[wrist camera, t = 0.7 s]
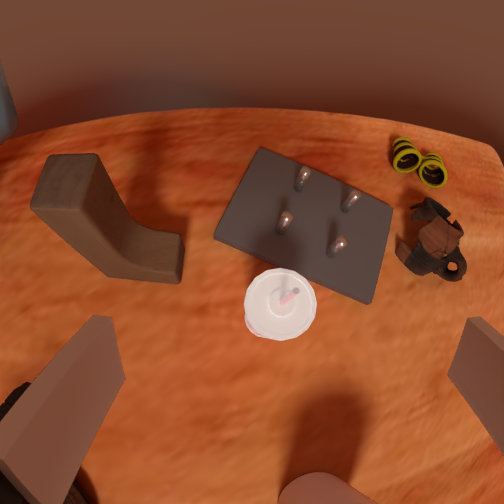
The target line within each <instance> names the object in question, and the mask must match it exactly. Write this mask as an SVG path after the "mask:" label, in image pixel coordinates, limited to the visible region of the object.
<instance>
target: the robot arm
mask: <svg viewBox="0 0 504 504" xmlns="http://www.w3.org/2000/svg"><path fill="white" fill-rule="evenodd" d="M17 125H18V118H17V113H16V109H15V106H14V103H13V100H12V96H11V93H10V90H9V86H8V83H7V80H6V77H5V74H4V70H3V68H2V65H1V61H0V145H2V144H3V143H4V142H5V141H6V140H7V139H8V138H10V137H11V136H12V135H13V133H14V132H15V130H16V128H17ZM447 375H448V377H449V378H450V379H451V381H452V382H453V383H454V385H455V386H456V387H457V389H458V390H459V391H460V393H461V394H462V395H463V397H464V398H465V400H466V401H467V402H468V404H469V405H470V407H471V408H472V409H473V411H474V412H475V414H476V415H477V417H478V418H479V419H480V421H481V422H482V424H483V425H484V427H485V428H486V430H487V431H488V433H489V434H490V436H491V437H492V439H493V440H494V442H495V443H496V445H497V446H498V448H499V449H500V451H501V452H502V454H503V456H504V337H503V336H502V335H501V334H500V333H499V332H498V331H496V330H495V329H494V328H493V327H492V326H491V325H489V324H488V323H487V322H486V321H485V320H484V319H482V318H481V317H473V318H467V321H466V324H465V327H464V330H463V333H462V336H461V339H460V342H459V345H458V348H457V351H456V353H455V356H454V359H453V361H452V364H451V366H450V369H449V371H448V374H447ZM125 379H126V378H125V375H124V371H123V367H122V362H121V358H120V354H119V349H118V345H117V340H116V335H115V331H114V325H113V320H112V317H107V316H99V315H93V316H92V317H91V318H90V319H89V320H88V321H87V322H86V323H85V324H84V325H83V326H82V328H81V329H80V330H79V331H78V332H77V333H76V334H75V335H74V336H73V337H72V338H71V339H70V340H69V342H68V343H67V344H66V345H65V346H64V347H63V348H62V349H61V350H60V352H59V353H58V354H57V355H56V356H55V357H54V358H53V359H52V360H51V362H50V363H49V364H48V365H47V366H46V367H45V368H44V370H43V371H42V372H41V373H40V374H39V375H38V377H37V378H36V379H35V380H34V381H33V382H32V383H29V382H26V383H24V384H23V385H21V386H19V387H18V388H16V389H15V390H13V392H12V393H11V394H10V395H9V396H8V397H7V399H6V400H5V403H2V405H1V406H0V504H21V503H22V501H23V499H24V498H25V499H26V500H27V501H28V502H29V503H30V504H63V502H64V500H65V498H66V496H67V493H68V491H69V489H70V487H71V485H72V483H73V481H74V478H75V476H76V474H77V472H78V470H79V468H80V466H81V464H82V462H83V460H84V458H85V456H86V454H87V452H88V450H89V448H90V446H91V444H92V442H93V440H94V438H95V436H96V434H97V432H98V430H99V428H100V426H101V424H102V422H103V420H104V418H105V416H106V414H107V413H108V411H109V409H110V407H111V405H112V403H113V401H114V399H115V397H116V396H117V394H118V392H119V390H120V388H121V386H122V384H123V383H124V381H125Z"/></svg>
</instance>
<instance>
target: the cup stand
mask: <svg viewBox="0 0 504 504" xmlns="http://www.w3.org/2000/svg"><path fill="white" fill-rule="evenodd" d="M392 214H393V208H392V207H390V206H389V205H387V204H385V203H383V202H381V201H379V200H377V199H375V198H373V197H371V196H369V195H367V194H365V193H363V192H361V191H359V190H357V189H355V188H353V187H351V186H348V185H346V184H344V183H342V182H340V181H338V180H336V179H334V178H331V177H329V176H327V175H325V174H323V173H320V172H318V171H316V170H314V169H311V168H309V167H307V166H304V165H302V164H300V163H297V162H295V161H293V160H290V159H288V158H286V157H283V156H281V155H278V154H276V153H273V152H271V151H268V150H266V149H263V148H261V147H260V148H259V150H258V151H257V153H256V155H255V157H254V159H253V161H252V162H251V164H250V166H249V168H248V170H247V172H246V174H245V175H244V177H243V179H242V181H241V183H240V185H239V187H238V189H237V190H236V192H235V194H234V196H233V198H232V200H231V202H230V204H229V206H228V208H227V210H226V211H225V213H224V215H223V217H222V219H221V221H220V223H219V225H218V227H217V229H216V231H215V233H214V239H216V240H218V241H220V242H222V243H225V244H227V245H229V246H232V247H234V248H236V249H239V250H241V251H243V252H245V253H248V254H250V255H252V256H255V257H257V258H259V259H262V260H264V261H266V262H269V263H271V264H273V265H276V266H278V267H280V268H283V269H288V270H292V271H295V272H297V273H298V274H300V275H301V276H303V277H304V278H306V279H308V280H310V281H313V282H315V283H317V284H319V285H322V286H324V287H326V288H329V289H331V290H333V291H336V292H338V293H340V294H343V295H345V296H347V297H350V298H352V299H354V300H357V301H359V302H361V303H364V304H366V305H368V304H370V303H371V302H372V298H373V295H374V291H375V288H376V284H377V280H378V276H379V272H380V268H381V264H382V260H383V256H384V252H385V247H386V243H387V238H388V234H389V229H390V224H391V219H392Z"/></svg>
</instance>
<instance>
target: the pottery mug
mask: <svg viewBox="0 0 504 504" xmlns="http://www.w3.org/2000/svg"><path fill="white" fill-rule="evenodd" d="M414 208H416V209H415V211H414V213H413V214H412V215H411V218H412V221H413V222H416V221H418V220H425V221H429V222H430V223H428V224H427V225H425V226H424V227H422V228H421V229H420V230H419V233H418V238H419V241H418V243H417V245H416V247H415V248H414V250H412V249H411V248H409V246H408V245H407V244H406V243H405V242H404V241H403V242H401V243H400V245H399V247H398V248H397V249H396V251H395V253H396V255H397V257H398V258H399V259H400V260H401V261H402V263H404V265H405V266H406V267H407V268H408V269H409V270H411V271H412V272H413V273H415V274H417V275H421V276H424V275H425V274H428V273H430V272H433V273H434V274H438V275H439V276H440V277H442V278H443V279H445V280H447V281H451V282H455V281H458V280H461V279H462V276H463V275H464V274H465V273H466V270H467V263H466V260H465V258H464V257H463V255H462V254H461V252H460V249H459V247H458V246H457V245H459V239H460V238H461V237H462V236H463V235H464V232H463V229H462V227H461V226H460V224H459V223H458V222H457V220H455V221H454V222H453V224H451V223H450V222H449V221H448V220H447V219H446V218H447V217H449V216H450V215H451V213H450V212H449V211H448V210H447V209H446V208H444V207H443V206H442V205H441V204H439V203H438V202H436V201H435V200H433V199H431V198H429V197H426V198H425V200H424V201H423V202H422V203H418V204H414V205H412V206H411V207H410V209H414ZM444 253H445V254H448V255H447V256H446V257H443V258H442V256H443V254H444ZM449 262H454V263H456V264H457V267H458V268H457V270H455V271H452V270H449V269H448V268H447V266H448V264H449Z"/></svg>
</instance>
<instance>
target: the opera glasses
mask: <svg viewBox="0 0 504 504" xmlns="http://www.w3.org/2000/svg"><path fill="white" fill-rule="evenodd" d="M392 148H393V157H394V160H393V167H394V169H395V170H396V171H398V172H401V173H407V172H411V171H413V170H415V169H416V168H418V167H419V165H421V166H420V168H419V177H420V179H421V181H422V182H423V183H424V184H425V185H427V186H428V187H431V188H439V187H442V186H443V185H444V184H445V183H446V181H447V177H448V175H447V170H446V168H445V167H444V165H443V163H442V158H441V156H440V155H439V154H437V153H435V152H429V153H427V154H426V155H425V156H422V155H421V154H420V152H419V151H418V150H416V148H415V147H414V146H413V144H412V142H411V140H410V139H409V138H407V137H399V138H397V139H395V140H394V142H393V144H392ZM429 164H434V165H437V166H438V167H436V168H431V167H429V166H427V165H429Z"/></svg>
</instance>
